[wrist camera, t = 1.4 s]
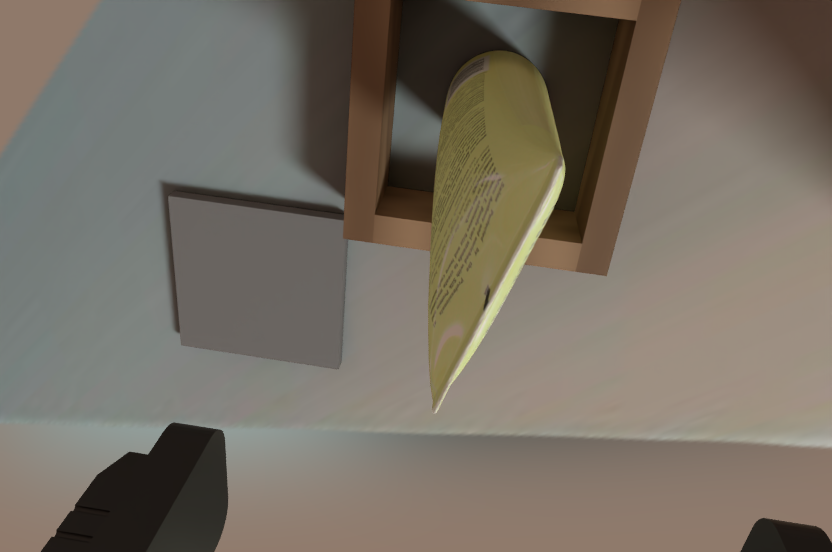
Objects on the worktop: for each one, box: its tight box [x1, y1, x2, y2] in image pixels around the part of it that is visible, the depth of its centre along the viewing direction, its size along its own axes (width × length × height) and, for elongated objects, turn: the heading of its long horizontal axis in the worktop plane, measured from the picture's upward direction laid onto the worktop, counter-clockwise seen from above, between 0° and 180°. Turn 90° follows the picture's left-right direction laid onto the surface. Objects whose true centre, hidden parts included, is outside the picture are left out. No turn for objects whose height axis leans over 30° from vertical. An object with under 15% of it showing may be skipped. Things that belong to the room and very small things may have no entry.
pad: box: [168, 191, 348, 369], centre depth 39 cm, size 10×10×1 cm
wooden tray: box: [343, 0, 681, 276], centre depth 31 cm, size 13×13×4 cm
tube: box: [428, 51, 565, 413], centre depth 24 cm, size 6×5×20 cm
